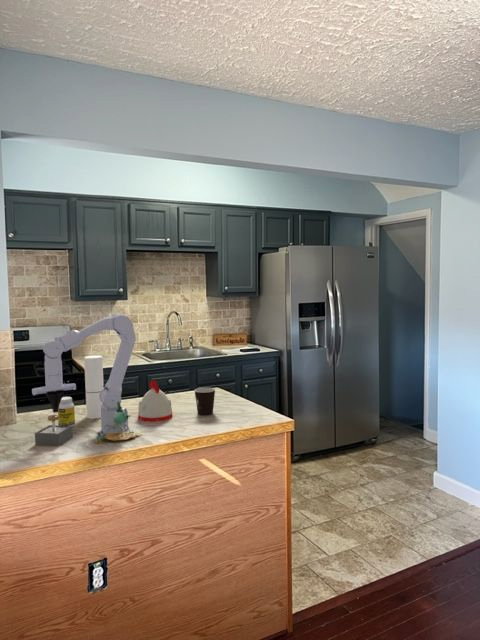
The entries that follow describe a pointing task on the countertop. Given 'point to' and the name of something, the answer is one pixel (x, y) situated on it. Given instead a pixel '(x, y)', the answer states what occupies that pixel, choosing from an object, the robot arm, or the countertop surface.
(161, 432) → the countertop surface
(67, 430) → the gray open box
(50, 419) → the plunger
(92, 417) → the cylindrical container
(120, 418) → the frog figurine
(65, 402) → the pill bottle
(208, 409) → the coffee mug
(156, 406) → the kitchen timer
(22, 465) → the countertop surface
